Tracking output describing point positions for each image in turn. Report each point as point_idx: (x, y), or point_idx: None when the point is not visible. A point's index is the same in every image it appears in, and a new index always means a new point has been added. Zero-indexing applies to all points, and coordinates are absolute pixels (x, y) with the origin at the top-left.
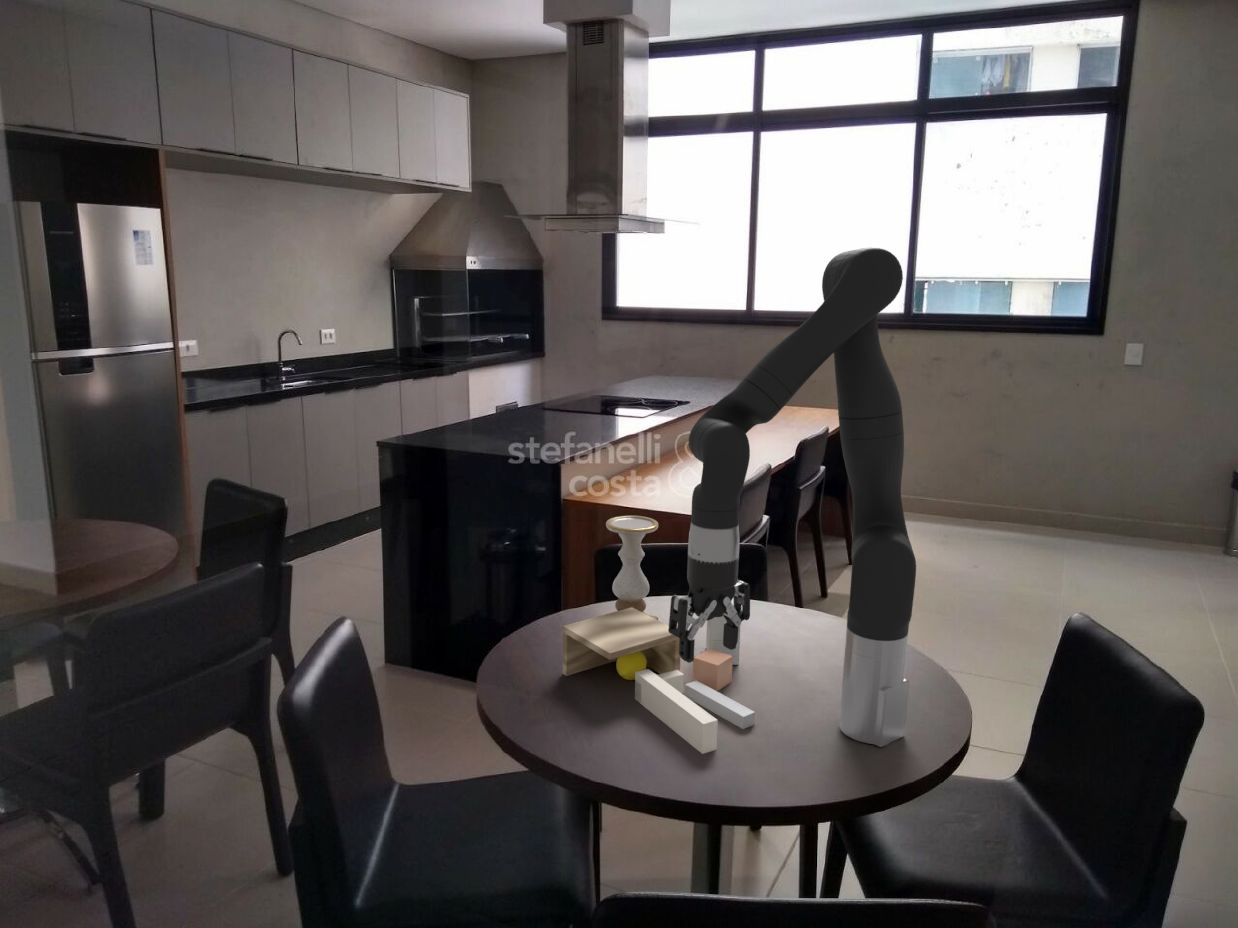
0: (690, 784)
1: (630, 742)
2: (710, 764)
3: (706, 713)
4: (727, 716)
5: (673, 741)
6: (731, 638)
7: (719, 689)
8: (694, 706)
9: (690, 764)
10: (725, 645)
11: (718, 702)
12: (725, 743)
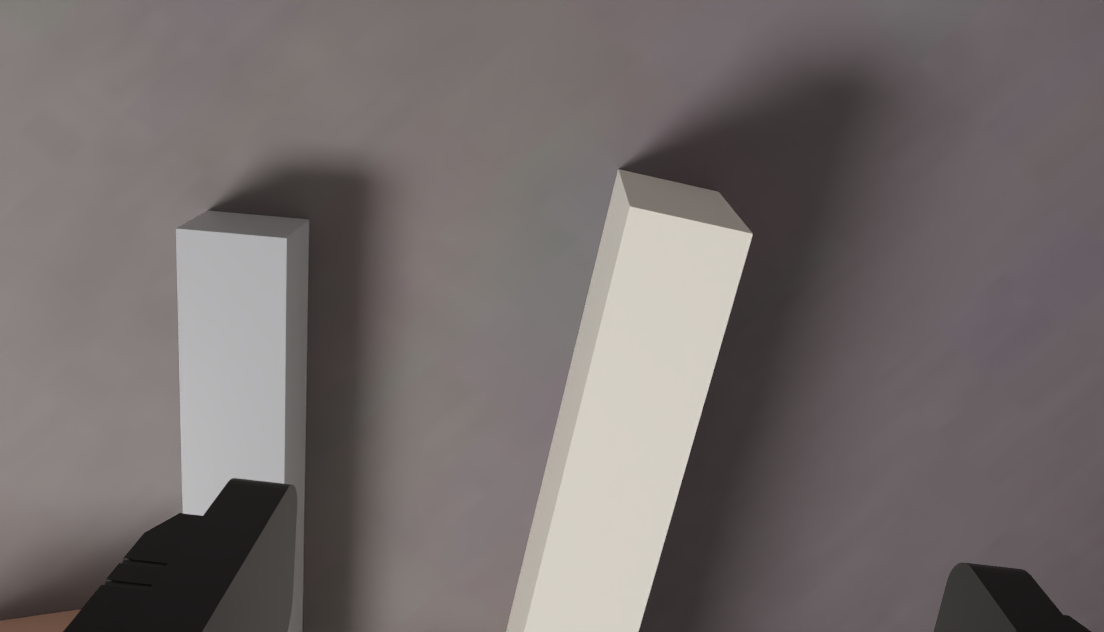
0: (1038, 7)
1: (917, 531)
2: (777, 77)
3: (614, 322)
4: (301, 358)
5: (736, 390)
6: (249, 583)
7: (80, 609)
8: (602, 440)
9: (863, 157)
10: (289, 600)
11: (280, 464)
12: (522, 178)
